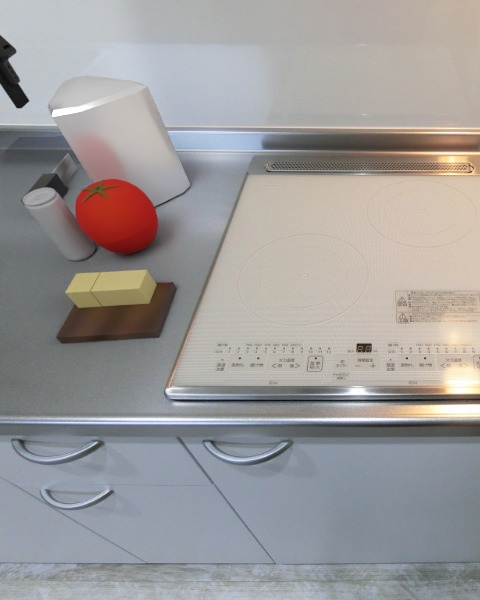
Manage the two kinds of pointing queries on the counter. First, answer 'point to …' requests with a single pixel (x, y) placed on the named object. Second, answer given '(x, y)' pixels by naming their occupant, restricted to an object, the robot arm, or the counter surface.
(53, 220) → the beverage can
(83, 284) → the butter slice
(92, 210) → the tomato
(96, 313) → the board
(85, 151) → the white plastic container
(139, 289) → the butter block
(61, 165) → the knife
